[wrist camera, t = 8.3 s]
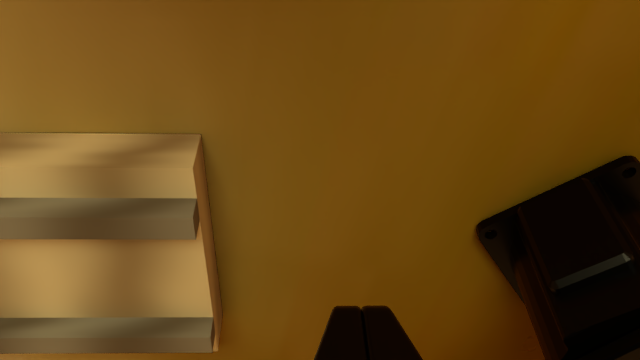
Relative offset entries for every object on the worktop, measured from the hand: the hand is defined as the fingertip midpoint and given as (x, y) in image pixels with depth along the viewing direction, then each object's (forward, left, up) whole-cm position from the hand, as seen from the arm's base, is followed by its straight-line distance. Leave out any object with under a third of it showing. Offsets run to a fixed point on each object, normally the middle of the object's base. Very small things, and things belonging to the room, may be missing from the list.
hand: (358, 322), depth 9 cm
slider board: (0, +17, -12) cm, 21 cm away
